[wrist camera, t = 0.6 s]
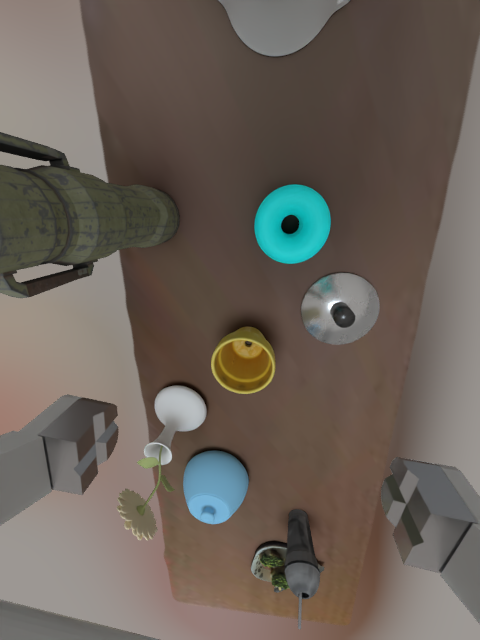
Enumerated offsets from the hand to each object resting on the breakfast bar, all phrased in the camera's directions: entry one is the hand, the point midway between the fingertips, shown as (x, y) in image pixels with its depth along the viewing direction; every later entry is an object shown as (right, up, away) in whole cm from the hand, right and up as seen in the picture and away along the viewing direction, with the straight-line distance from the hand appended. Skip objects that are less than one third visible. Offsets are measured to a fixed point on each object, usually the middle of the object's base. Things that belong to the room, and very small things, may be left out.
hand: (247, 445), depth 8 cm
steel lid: (+17, +6, +41) cm, 45 cm away
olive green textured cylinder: (-15, +21, +39) cm, 47 cm away
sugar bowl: (-5, -32, +58) cm, 67 cm away
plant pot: (+1, 0, +45) cm, 45 cm away
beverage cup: (+14, -45, +60) cm, 76 cm away
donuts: (+8, +19, +37) cm, 42 cm away
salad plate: (+12, -62, +68) cm, 92 cm away
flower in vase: (-12, -15, +53) cm, 56 cm away
